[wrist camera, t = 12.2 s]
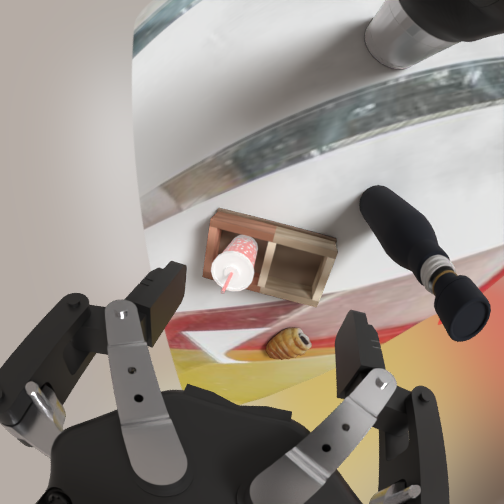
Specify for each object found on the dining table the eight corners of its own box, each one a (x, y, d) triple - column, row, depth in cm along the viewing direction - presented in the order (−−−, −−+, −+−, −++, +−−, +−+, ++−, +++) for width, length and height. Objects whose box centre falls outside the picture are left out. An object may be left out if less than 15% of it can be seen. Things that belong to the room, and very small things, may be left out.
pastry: (278, 358, 58) (276, 371, 55) (259, 340, 57) (256, 352, 53) (314, 341, 55) (314, 354, 51) (295, 320, 53) (294, 333, 50)
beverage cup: (234, 267, 49) (211, 315, 36) (221, 236, 47) (191, 277, 34) (267, 258, 47) (254, 306, 35) (254, 225, 45) (235, 264, 33)
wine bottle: (354, 217, 43) (417, 351, 16) (365, 180, 40) (462, 272, 13) (389, 228, 42) (474, 357, 15) (401, 191, 39) (516, 290, 12)
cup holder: (218, 207, 46) (209, 216, 41) (336, 238, 45) (339, 250, 40) (209, 264, 51) (201, 278, 46) (316, 292, 49) (317, 308, 45)
